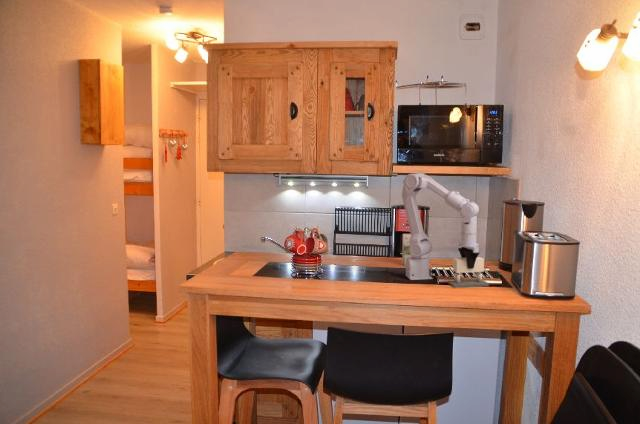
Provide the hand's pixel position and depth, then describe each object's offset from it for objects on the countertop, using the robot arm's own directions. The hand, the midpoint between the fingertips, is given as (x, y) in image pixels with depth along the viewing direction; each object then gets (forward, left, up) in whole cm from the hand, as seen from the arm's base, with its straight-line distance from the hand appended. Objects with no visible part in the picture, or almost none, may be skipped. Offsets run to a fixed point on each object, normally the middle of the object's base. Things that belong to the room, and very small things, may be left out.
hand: (468, 267), depth 196 cm
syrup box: (-13, +38, -7) cm, 41 cm away
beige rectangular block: (0, 0, -2) cm, 2 cm away
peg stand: (0, 0, -7) cm, 7 cm away
